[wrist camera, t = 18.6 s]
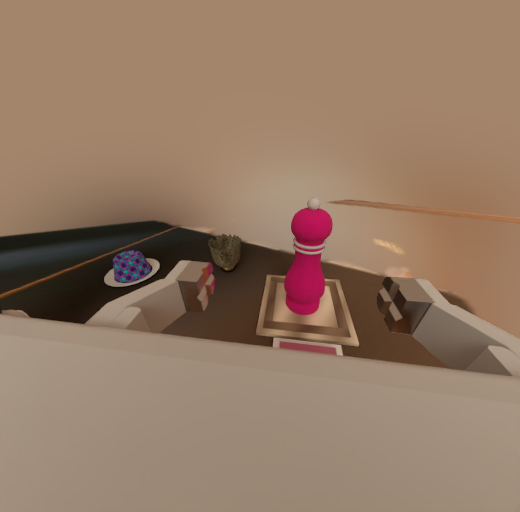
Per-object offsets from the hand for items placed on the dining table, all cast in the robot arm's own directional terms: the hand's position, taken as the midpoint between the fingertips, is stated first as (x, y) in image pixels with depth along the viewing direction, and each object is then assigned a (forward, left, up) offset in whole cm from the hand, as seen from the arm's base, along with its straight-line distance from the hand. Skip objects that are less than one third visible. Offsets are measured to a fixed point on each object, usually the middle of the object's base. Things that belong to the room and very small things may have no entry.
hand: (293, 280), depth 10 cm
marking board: (+3, +21, -22) cm, 31 cm away
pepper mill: (+3, +21, -22) cm, 30 cm away
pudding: (-38, +27, -23) cm, 52 cm away
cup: (-15, +31, -22) cm, 41 cm away
